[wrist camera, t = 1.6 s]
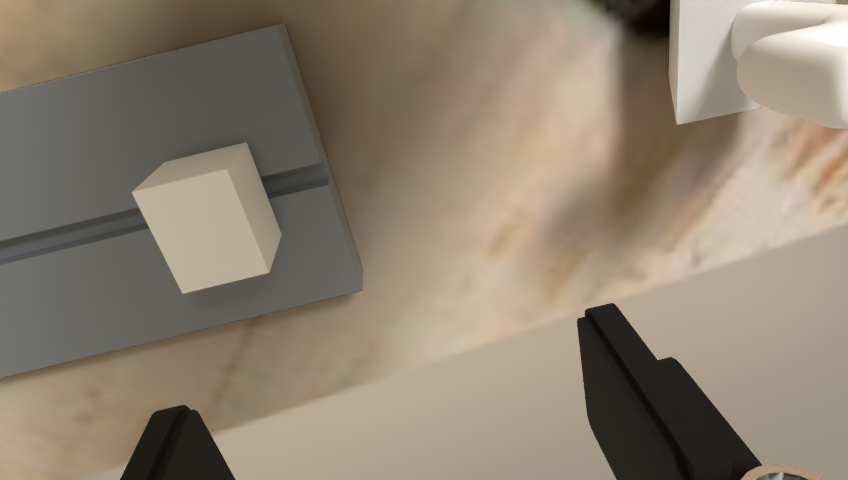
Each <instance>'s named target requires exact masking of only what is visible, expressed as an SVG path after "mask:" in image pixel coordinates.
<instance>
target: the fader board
mask: <svg viewBox="0 0 848 480" xmlns="http://www.w3.org/2000/svg"><path fill="white" fill-rule="evenodd" d="M244 142H247V145H248V147H249V150H250V152H251V155H252V158H253V160H254V163H255V166H256V168H257V171H258V173H259V176H260V179H261V181H262V184H263V187H264V189H265V192H266V194H267V197H268V200H269V202H270V205H271V207H272V210H273V213H274V215H275V218H276V221H277V223H278V226H279V228H280V231H281V234H282V236H281V239H280V242H279V245H278V248H277V251H276V254H275V257H274V260H273V263H272V266H271V269H270V272H269V273H266V274H262V275H258V276H254V277H250V278H246V279H242V280H238V281H234V282H229V283H225V284H221V285H217V286H213V287H209V288H205V289H201V290H197V291H192V292H188V293H184V294H182V292H181V290H180V288H179V286H178V284H177V282H176V280H175V278H174V276H173V274H172V272H171V270H170V268H169V266H168V264H167V262H166V260H165V258H164V256H163V254H162V252H161V250H160V248H159V246H158V244H157V242H156V240H155V238H154V236H153V234H152V232H151V230H150V228H149V226H148V224H147V222H146V220H145V218H144V216H143V214H142V212H141V210H140V208H139V206H138V204H137V202H136V200H135V198H134V196H133V194H132V191H133V190H134V189H136V188H137V187H138V186H139V185H140V184H141V183H142V182H143V181H144V180H145V179H147V178H148V177H149V176H150V175H151V174H152V173H153V172H154V171H155V170H156V169H158V168H159V167H160V166H161V165H162V164H163V163H164V162H167V161H171V160H175V159H179V158H184V157H188V156H192V155H196V154H200V153H204V152H208V151H212V150H216V149H220V148H224V147H228V146H232V145H236V144H240V143H244ZM362 274H363V269H362V265H361V262H360V259H359V256H358V253H357V250H356V246H355V243H354V240H353V237H352V234H351V231H350V227H349V224H348V221H347V218H346V215H345V212H344V208H343V205H342V202H341V199H340V196H339V193H338V189H337V186H336V183H335V180H334V177H333V174H332V170H331V167H330V164H329V161H328V158H327V155H326V151H325V148H324V145H323V142H322V139H321V136H320V132H319V129H318V126H317V123H316V120H315V117H314V113H313V110H312V107H311V104H310V101H309V98H308V94H307V91H306V88H305V85H304V82H303V79H302V75H301V72H300V69H299V66H298V63H297V60H296V56H295V53H294V50H293V47H292V44H291V41H290V37H289V34H288V31H287V28H286V25H285V22H284V23H280V24H276V25H272V26H267V27H263V28H259V29H255V30H251V31H247V32H243V33H239V34H235V35H231V36H227V37H223V38H219V39H215V40H211V41H207V42H203V43H199V44H195V45H191V46H187V47H183V48H179V49H175V50H171V51H167V52H163V53H159V54H155V55H151V56H147V57H143V58H139V59H135V60H131V61H127V62H123V63H119V64H115V65H111V66H107V67H103V68H99V69H95V70H91V71H87V72H82V73H78V74H74V75H70V76H66V77H62V78H58V79H54V80H50V81H46V82H42V83H38V84H34V85H30V86H26V87H22V88H18V89H14V90H10V91H6V92H2V93H0V378H3V377H8V376H12V375H16V374H20V373H24V372H28V371H32V370H36V369H41V368H45V367H49V366H53V365H57V364H61V363H65V362H70V361H74V360H78V359H82V358H86V357H90V356H94V355H98V354H103V353H107V352H111V351H115V350H119V349H123V348H127V347H132V346H136V345H140V344H144V343H148V342H152V341H156V340H160V339H165V338H169V337H173V336H177V335H181V334H185V333H189V332H193V331H198V330H202V329H206V328H210V327H214V326H218V325H222V324H227V323H231V322H235V321H239V320H243V319H247V318H251V317H255V316H260V315H264V314H268V313H272V312H276V311H280V310H284V309H289V308H293V307H297V306H301V305H305V304H309V303H313V302H317V301H322V300H326V299H330V298H334V297H338V296H342V295H346V294H351V293H355V292H359V291H362Z"/></svg>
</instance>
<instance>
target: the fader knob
mask: <svg viewBox="0 0 848 480" xmlns="http://www.w3.org/2000/svg"><path fill="white" fill-rule="evenodd" d="M132 194H133V196H134V198H135V200H136V202H137V204H138V206H139V208H140V210H141V212H142V214H143V216H144V218H145V220H146V222H147V224H148V226H149V228H150V230H151V232H152V234H153V236H154V238H155V240H156V242H157V244H158V246H159V248H160V250H161V252H162V254H163V256H164V258H165V260H166V262H167V264H168V266H169V268H170V270H171V272H172V274H173V276H174V278H175V280H176V282H177V284H178V286H179V288H180V290H181V292H182V294H184V293H188V292H192V291H197V290H201V289H205V288H209V287H213V286H217V285H221V284H225V283H229V282H234V281H238V280H242V279H246V278H250V277H254V276H258V275H262V274H266V273H269V272H270V269H271V266H272V263H273V260H274V257H275V254H276V251H277V248H278V245H279V242H280V239H281V236H282V234H281V231H280V228H279V226H278V223H277V221H276V218H275V215H274V213H273V210H272V207H271V205H270V202H269V200H268V197H267V194H266V192H265V189H264V187H263V184H262V181H261V179H260V176H259V173H258V171H257V168H256V166H255V163H254V160H253V158H252V155H251V152H250V150H249V147H248V145H247V142H244V143H240V144H236V145H232V146H228V147H224V148H220V149H216V150H212V151H208V152H204V153H200V154H196V155H192V156H188V157H184V158H179V159H175V160H171V161H167V162H164V163H163V164H162V165H161V166H160V167H159V168H158V169H156V170H155V171H154V172H153V173H152V174H151V175H150V176H149V177H148V178H147V179H145V180H144V181H143V182H142V183H141V184H140V185H139V186H138V187H137V188H136V189H134V190H133V191H132Z"/></svg>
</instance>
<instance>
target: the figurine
mask: <svg viewBox="0 0 848 480" xmlns="http://www.w3.org/2000/svg"><path fill="white" fill-rule="evenodd" d="M835 3H836V0H670V35H669V82H670V88H671V94H672V101H673V107H674V113H675V119H676V125H680V124H684V123H689V122H694V121H699V120H704V119H709V118H714V117H718V116H723V115H728V114H733V113H738V112H743V111H748V110H752V109H757V108H762V107H766V108H769V109H772V110H775V111H778V112H781V113H784V114H787V115H790V116H793V117H797V118H800V119H803V120H806V121H809V122H812V123H815V124H818V125H821V126H825V127H829V128H834V129H847V128H848V5H839V4H835Z"/></svg>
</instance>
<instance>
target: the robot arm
mask: <svg viewBox="0 0 848 480" xmlns="http://www.w3.org/2000/svg"><path fill="white" fill-rule="evenodd" d="M577 326H578V335H579V344H580V352H581V362H582V371H583V381H584V390H585V399H586V408H587V416H588V419H589V423H590V426H591V429H592V431H593V433H594V435H595V437H596V439H597V441H598V443H599V445H600V447H601V449H602V451H603V453H604V455H605V457H606V459H607V461H608V463H609V465H610V467H611V469H612V471H613V473H614V475H615V477H616V479H617V480H825V479H823V478H821V477H819V476H817V475H815V474H813V473H812V472H809V471H807V470H804V469H800V468H797V467H794V466H790V465H779V464H771V465H764V466H763V465H762V464H761V463H760V462H759V461H758V459H757V458H756V457H755V456H754V454H753V453H752V452H751V451H750V449H749V448H748V447H747V446H746V444H745V443H744V442H743V441H742V439H741V438H740V437H739V436H738V435H737V433H736V432H735V431H734V430H733V428H732V427H731V426H730V425H729V423H728V422H727V421H726V420H725V418H724V417H723V416H722V415H721V414H720V412H719V411H718V410H717V409H716V407H715V406H714V405H713V404H712V402H711V401H710V400H709V399H708V397H707V396H706V395H705V394H704V393H703V391H702V390H701V389H700V388H699V386H698V385H697V384H696V383H695V381H694V380H693V379H692V378H691V376H690V375H689V374H688V373H687V372H686V370H685V369H684V368H683V367H682V365H681V364H680V363H679V362H678V361H677V360H676V359H674V358H672V357H670V358H665V359H661V360H657V359H656V358H655V356H654V355H653V354H652V352H651V351H650V350H649V348H648V347H647V346H646V344H645V343H644V342H643V341H642V339H641V338H640V336H639V335H638V334H637V332H636V331H635V330H634V329H633V327H632V326H631V325H630V323H629V322H628V321H627V319H626V318H625V317H624V315H623V314H622V313H621V311H620V310H619V309H618V307H617V306H616V305H615V304H613V303H610V304H606V305H602V306H597V307H593V308H589V309H586V310H585V317H582V318H578V320H577ZM120 480H235V478H234V476H233V474H232V473H231V471H230V469H229V467H228V466H227V464H226V462H225V460H224V458H223V456H222V454H221V453H220V451H219V449H218V447H217V445H216V444H215V442H214V440H213V438H212V436H211V434H210V433H209V431H208V429H207V427H206V425H205V423H204V422H203V420H202V418H201V416H200V414H199V413H198V412H197V411H196V410H190V409H189V408H188V407H187V406H185V405H181V406H176V407H172V408H168V409H164V410H159V411H156V412H155V413H153V415H152V416H151V418H150V420H149V422H148V424H147V426H146V428H145V430H144V432H143V434H142V436H141V438H140V440H139V442H138V444H137V446H136V448H135V450H134V453H133V455H132V457H131V459H130V461H129V463H128V465H127V467H126V469H125V471H124V473H123V475H122V477H121V479H120Z"/></svg>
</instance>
